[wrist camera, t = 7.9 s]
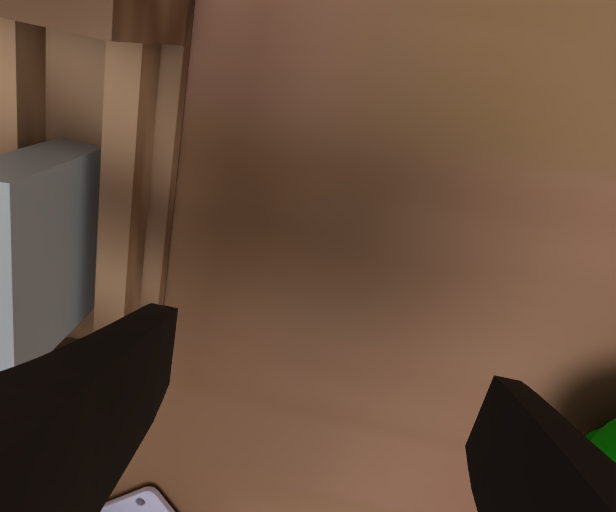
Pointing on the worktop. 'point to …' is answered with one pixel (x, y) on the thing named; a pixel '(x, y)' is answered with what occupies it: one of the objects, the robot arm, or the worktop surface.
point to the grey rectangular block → (46, 245)
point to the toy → (605, 439)
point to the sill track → (105, 123)
